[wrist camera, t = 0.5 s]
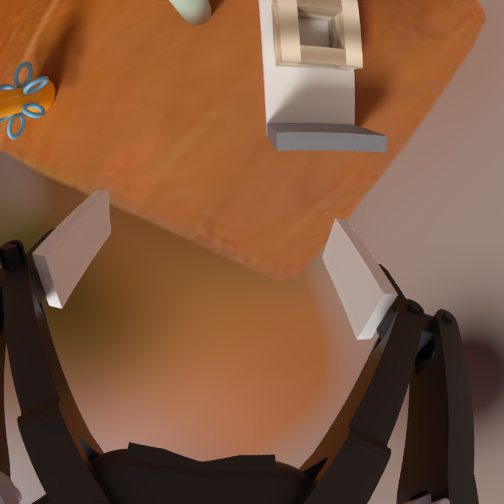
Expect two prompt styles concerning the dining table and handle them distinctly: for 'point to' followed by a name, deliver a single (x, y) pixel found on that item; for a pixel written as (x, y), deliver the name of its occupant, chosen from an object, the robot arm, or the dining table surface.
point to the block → (339, 26)
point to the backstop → (311, 98)
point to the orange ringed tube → (25, 99)
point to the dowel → (193, 10)
